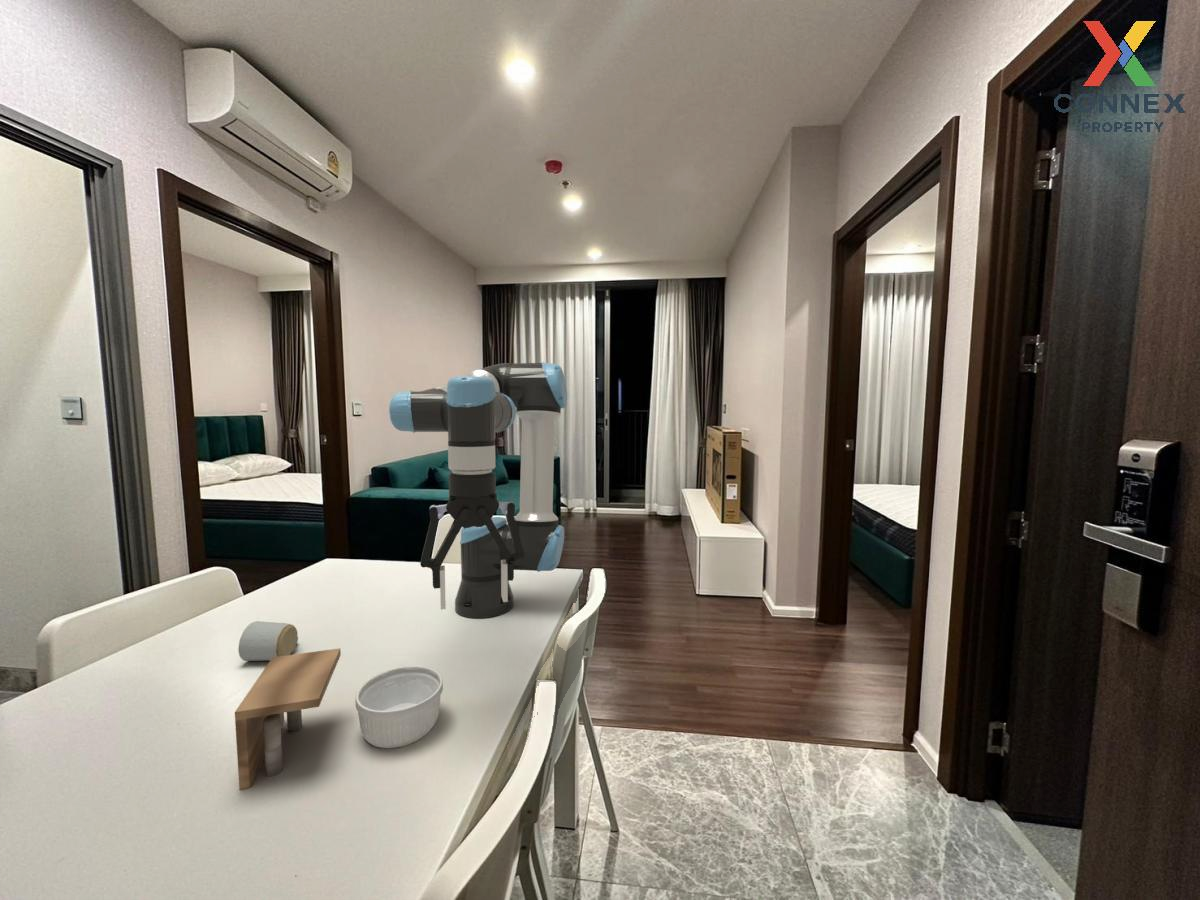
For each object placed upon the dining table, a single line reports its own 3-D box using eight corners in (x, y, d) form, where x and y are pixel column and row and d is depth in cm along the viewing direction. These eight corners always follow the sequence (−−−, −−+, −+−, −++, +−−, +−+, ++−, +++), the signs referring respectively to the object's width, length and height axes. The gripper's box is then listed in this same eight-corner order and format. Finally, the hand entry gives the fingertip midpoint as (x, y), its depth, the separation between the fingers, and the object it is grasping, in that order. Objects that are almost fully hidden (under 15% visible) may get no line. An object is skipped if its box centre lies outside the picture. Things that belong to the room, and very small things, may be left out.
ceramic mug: (280, 667, 96) (279, 630, 96) (238, 668, 96) (236, 631, 95) (308, 642, 107) (307, 609, 106) (270, 643, 106) (269, 609, 106)
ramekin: (459, 711, 83) (459, 673, 82) (405, 764, 70) (404, 719, 70) (398, 696, 87) (397, 659, 86) (337, 743, 74) (335, 701, 74)
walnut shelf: (342, 710, 82) (340, 648, 82) (322, 772, 68) (318, 698, 67) (275, 721, 79) (272, 657, 78) (239, 789, 65) (234, 712, 64)
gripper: (534, 466, 86) (534, 587, 88) (402, 470, 79) (406, 601, 81) (542, 471, 79) (543, 603, 80) (398, 476, 72) (402, 620, 74)
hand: (474, 602), depth 81 cm, fingers open, 9 cm apart
